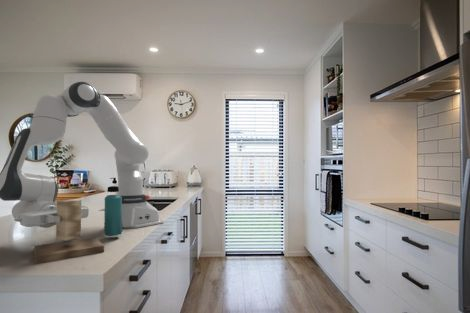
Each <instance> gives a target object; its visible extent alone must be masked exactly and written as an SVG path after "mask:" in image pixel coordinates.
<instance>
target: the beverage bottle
mask: <svg viewBox="0 0 470 313" xmlns="http://www.w3.org/2000/svg"><path fill="white" fill-rule="evenodd" d="M118 192H119V187H118V185H116V186H115V185H113V186H108V187H107V193H118ZM103 215H104V222H103V223H104V225H103V227H104V230H103V231H104V236H106V237H107V236H108V237H114V236H119V235H122V233H123V227H122V197H121V196H120V195H118V194H107V195H106V196H105V197H104V213H103Z"/></svg>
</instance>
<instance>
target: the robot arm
mask: <svg viewBox="0 0 470 313" xmlns="http://www.w3.org/2000/svg"><path fill="white" fill-rule="evenodd" d="M82 113H87V114H89V116H90V117H92V119H93V120H94V122H95V124H96V126H97V127H98V128H99V130H100V132H101V133H102V134H103V136H104V138H105V139H106V141H108V142H109V143H110V144H111V145H112V146H113V147H114V148H115V152H114V159H115V165H116V173H117V180H118V181H117V183H118V185H117V186H118V187H119V192H117V193H118V194H117V195H120V196H121V197H122V228H130V229H131V228H133V229H134V228H135V229H137V228H138V229H139V228H143V227H144V228H145V227H148V226H154V225H160V224H164V222H165V221H164V219H163V218H160V212H159V210H158V209H157V208H156V207H154V206H153V205H152V204H151V203H149V202H148V201H149V200H150V199H151V197H150V195H148V194H144V192H143V191H144V181H143V180H144V177H143V175H142V173H141V166H140V165H141V164H143V163H145V162H146V161H147V159H148V158H149V150H148V147H147V146H146V145H145V144H144V143H142V142H141V140H140V139H139V138H138V136H137V135H135V133H134V132H133V131H132V130H131V129H130V128H129V125H128V124H127V123H126V121H125V120H124V118H123V117H122V115H121V114H120V112H119V110H118V109H117V107H116V106H115V105H114V103H113V102H112V101H111V100H110V98H109V97H107V96H106V95H105V94H100V92H99V91H97V89H96V88H95V87H94V86H93V85H91V84H90V83H89V82H86V81H76V82H74V83H72V84H71V85H70V86H68V87H66V88H65V89H64V90H63V91H62V92H61V93H60V94H59V95H56V94H44V95H42V96H41V97H39V99H38V102H37V103H36V106H35V108H34V111H33V115H32V120H31V123H30V125H29V126H28V127H26V128H22V130H20V132H19V133H18V134H17V136H16V138H15V140H14V142H13V144H12V146H11V149H10V151H9V154H8V156H7V158H6V160H5V163H4V165H3V168H2V169H1V171H0V200H2V201H5V202H6V201H7V202H9V201H11V202H12V201H13V202H14V201H16V203H15V204H14V205H13V207H12V208H11V215H12V217H13V220H14V221H15V222H18V223H19V224H20V226H22V227H25V228H32V227H36V228H37V227H38V228H45V229H47V228H51V227H54V226H56V222H62V221H63V216H57V198H58V193H59V186H58V182H57V181H56V180H55V178H53V177H52V176H47V175H42V174H33V173H25V172H23V171H22V168H23V166H24V164H25V161H26V157H27V155H28V152H29V151H30V150H31V149H32V148H33V147H36V146H44V145H45V146H47V145H51V144H52V145H53V144H55V143H58V142H59V141H60V140H62V139H63V138H64V135H65V134H66V127H67V118H68V117H69V118H70V117H71V118H72V117H77V116H79V115H81V114H82ZM17 201H18V202H17ZM89 212H90V210H89V207H88V206H85V205H81V219H86V218H88V217H89V215H90V214H89Z"/></svg>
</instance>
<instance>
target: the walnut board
mask: <svg viewBox="0 0 470 313" xmlns="http://www.w3.org/2000/svg"><path fill="white" fill-rule="evenodd" d="M103 252H105V244H103V243H102V242H101V241H100V240H99V239H97V237H96V236H94V237H86V238H80V239H78V238H77V239H70V240H63V241H60V242H52V243H45V244H38V245H34V251H33V253H34V259H35V263H36V265H37V264H42V263H47V262H53V261H58V260H65V259H71V258H75V257H81V256H88V255H93V254H94V255H95V254H100V253H103Z"/></svg>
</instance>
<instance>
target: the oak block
mask: <svg viewBox="0 0 470 313" xmlns="http://www.w3.org/2000/svg"><path fill="white" fill-rule="evenodd" d="M56 202H57V216H63V221H62V222H56V225H55V226H56V227H55V228H56V229H55V230H56V231H55V234H56V235H55V239H57V240H62V241H70V240H74V239H78V238H81V235H82V234H81V233H82V230H81V229H82V218H81V206H82V200H81V199H71V198H70V199H63V200H56Z"/></svg>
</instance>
